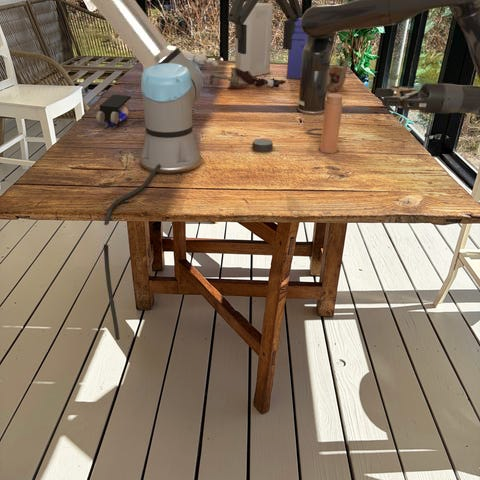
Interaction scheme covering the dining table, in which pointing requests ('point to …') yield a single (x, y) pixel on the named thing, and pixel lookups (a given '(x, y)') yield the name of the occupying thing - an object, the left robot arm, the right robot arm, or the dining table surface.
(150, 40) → the left robot arm
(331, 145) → the wooden cylinder
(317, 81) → the right robot arm
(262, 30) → the tall white carton
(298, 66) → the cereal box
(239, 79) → the figurine
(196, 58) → the toy
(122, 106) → the figurine character
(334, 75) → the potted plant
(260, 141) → the lid
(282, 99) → the dining table surface
